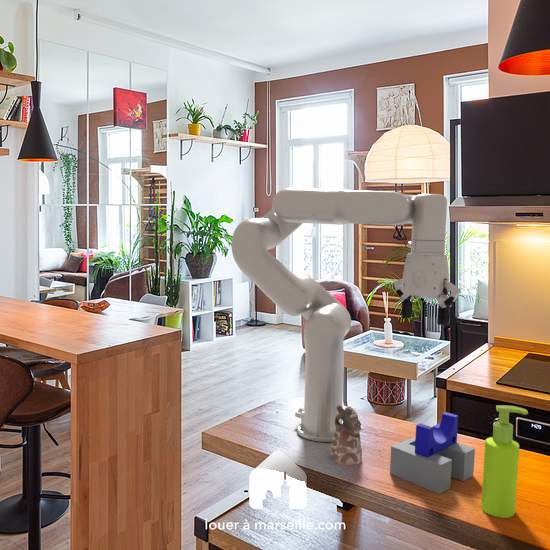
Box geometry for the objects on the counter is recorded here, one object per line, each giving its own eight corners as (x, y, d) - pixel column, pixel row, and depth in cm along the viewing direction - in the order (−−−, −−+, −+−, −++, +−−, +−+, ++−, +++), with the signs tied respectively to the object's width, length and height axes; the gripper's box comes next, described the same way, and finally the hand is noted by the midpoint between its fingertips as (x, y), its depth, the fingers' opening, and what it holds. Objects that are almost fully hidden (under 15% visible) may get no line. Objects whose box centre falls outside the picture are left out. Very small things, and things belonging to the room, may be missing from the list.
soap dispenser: (522, 521, 106) (530, 414, 104) (482, 515, 108) (489, 409, 105) (518, 505, 111) (525, 404, 109) (480, 500, 113) (486, 400, 111)
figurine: (352, 468, 126) (354, 414, 125) (324, 459, 131) (325, 407, 129) (367, 457, 132) (369, 406, 131) (340, 449, 136) (342, 399, 135)
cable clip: (438, 436, 130) (439, 410, 129) (456, 442, 126) (458, 415, 126) (408, 451, 121) (409, 423, 121) (427, 457, 118) (429, 429, 117)
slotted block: (389, 473, 124) (391, 446, 124) (424, 457, 133) (426, 432, 132) (439, 494, 115) (440, 465, 115) (473, 475, 124) (474, 448, 123)
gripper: (387, 246, 138) (384, 317, 140) (452, 250, 126) (448, 328, 127) (406, 245, 143) (403, 314, 145) (470, 249, 131) (466, 325, 132)
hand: (424, 321), depth 136 cm, fingers open, 9 cm apart
